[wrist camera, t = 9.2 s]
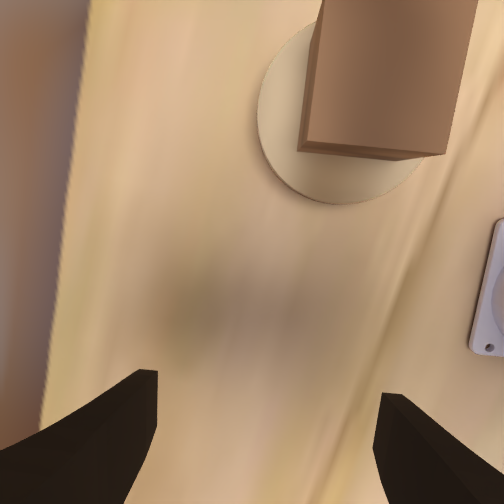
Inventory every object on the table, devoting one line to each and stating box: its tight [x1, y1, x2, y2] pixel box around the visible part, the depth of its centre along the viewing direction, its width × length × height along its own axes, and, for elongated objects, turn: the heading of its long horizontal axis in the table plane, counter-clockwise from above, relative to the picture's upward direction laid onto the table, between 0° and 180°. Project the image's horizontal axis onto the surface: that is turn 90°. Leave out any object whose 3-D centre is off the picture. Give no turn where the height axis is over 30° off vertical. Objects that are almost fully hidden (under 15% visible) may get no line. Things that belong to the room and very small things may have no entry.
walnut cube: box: [297, 0, 478, 161], centre depth 13 cm, size 4×4×4 cm
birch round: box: [257, 22, 424, 204], centre depth 17 cm, size 8×8×4 cm
